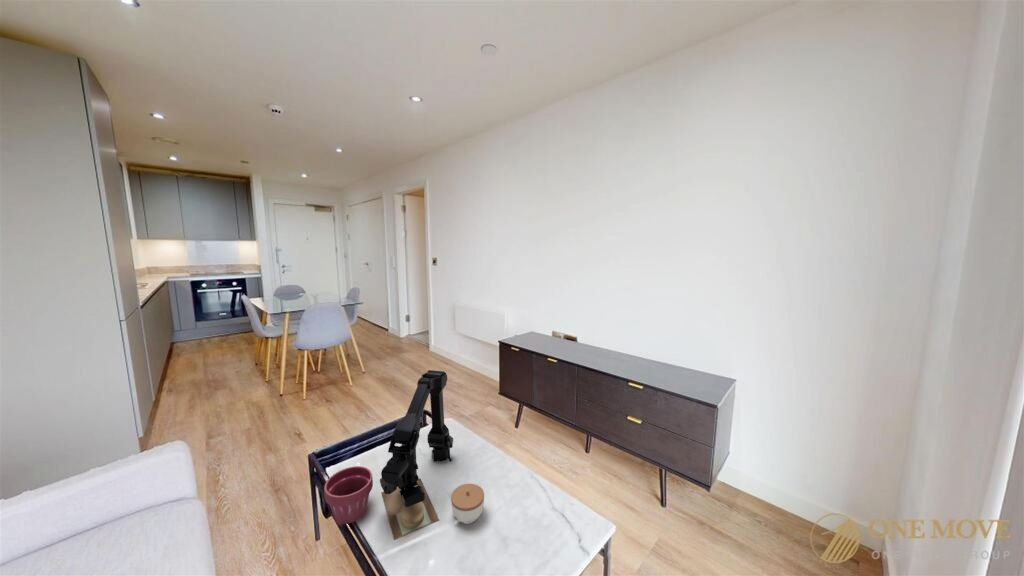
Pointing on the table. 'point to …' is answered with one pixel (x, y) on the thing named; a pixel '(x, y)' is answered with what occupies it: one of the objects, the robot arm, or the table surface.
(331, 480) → the plant pot
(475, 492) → the lidded jar
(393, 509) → the walnut board
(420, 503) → the oak puck
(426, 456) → the table surface
